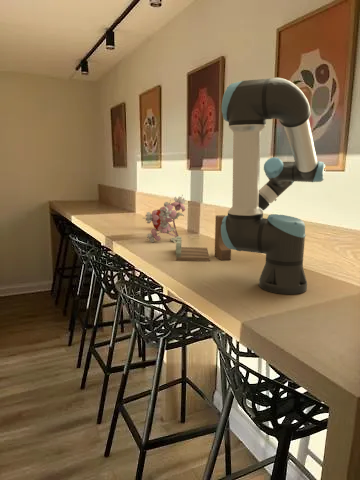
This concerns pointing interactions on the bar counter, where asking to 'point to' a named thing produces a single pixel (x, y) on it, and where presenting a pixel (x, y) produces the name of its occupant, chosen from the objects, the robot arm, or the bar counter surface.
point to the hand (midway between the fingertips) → (227, 233)
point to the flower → (166, 219)
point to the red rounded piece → (157, 220)
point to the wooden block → (220, 241)
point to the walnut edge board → (190, 253)
